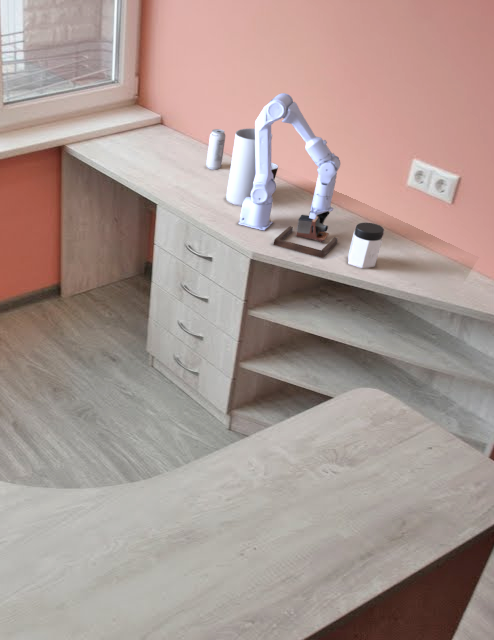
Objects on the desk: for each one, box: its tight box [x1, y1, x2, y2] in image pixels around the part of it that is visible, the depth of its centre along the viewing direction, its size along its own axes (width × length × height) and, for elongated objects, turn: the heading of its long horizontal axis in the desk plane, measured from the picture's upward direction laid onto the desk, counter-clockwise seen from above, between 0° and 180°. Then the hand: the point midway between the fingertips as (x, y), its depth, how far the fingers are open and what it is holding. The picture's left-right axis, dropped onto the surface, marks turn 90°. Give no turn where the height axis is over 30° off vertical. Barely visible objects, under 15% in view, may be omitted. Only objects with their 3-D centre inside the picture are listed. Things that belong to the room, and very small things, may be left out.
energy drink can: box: [205, 128, 226, 171], centre depth 321 cm, size 6×6×15 cm
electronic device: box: [295, 214, 330, 243], centre depth 266 cm, size 4×10×8 cm, turn 53°
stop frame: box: [273, 225, 338, 259], centre depth 264 cm, size 16×13×2 cm
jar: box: [347, 222, 385, 269], centre depth 250 cm, size 9×8×12 cm
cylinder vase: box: [225, 128, 273, 207], centre depth 289 cm, size 12×12×25 cm
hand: (315, 231), depth 269 cm, fingers closed, pressing on electronic device
